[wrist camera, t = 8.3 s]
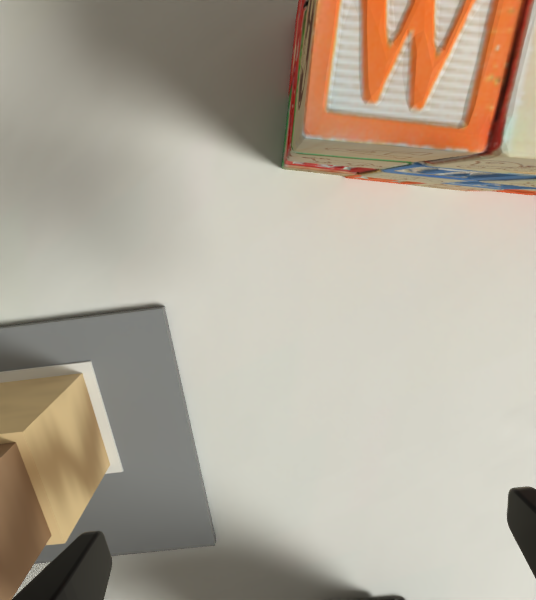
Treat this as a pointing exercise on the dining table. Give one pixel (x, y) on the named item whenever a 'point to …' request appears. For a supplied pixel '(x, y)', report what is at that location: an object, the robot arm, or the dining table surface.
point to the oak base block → (55, 445)
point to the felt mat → (124, 425)
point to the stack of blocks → (415, 93)
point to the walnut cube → (18, 522)
